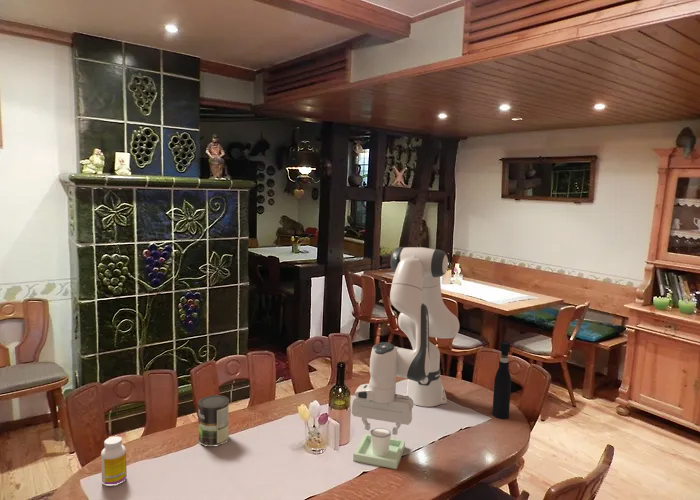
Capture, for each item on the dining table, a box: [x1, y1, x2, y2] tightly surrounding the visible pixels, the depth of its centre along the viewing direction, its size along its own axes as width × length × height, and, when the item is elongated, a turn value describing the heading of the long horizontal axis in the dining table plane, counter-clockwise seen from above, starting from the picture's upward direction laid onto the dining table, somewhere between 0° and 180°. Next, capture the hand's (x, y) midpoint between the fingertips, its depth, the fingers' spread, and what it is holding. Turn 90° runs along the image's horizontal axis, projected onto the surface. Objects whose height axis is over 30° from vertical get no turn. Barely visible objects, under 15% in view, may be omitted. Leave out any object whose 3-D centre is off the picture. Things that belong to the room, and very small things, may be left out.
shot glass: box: [370, 427, 392, 456], centre depth 163 cm, size 7×7×7 cm
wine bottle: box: [492, 340, 512, 420], centre depth 193 cm, size 6×6×30 cm
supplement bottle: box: [100, 436, 128, 484], centre depth 144 cm, size 7×7×13 cm
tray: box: [353, 433, 406, 470], centre depth 164 cm, size 14×14×2 cm
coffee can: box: [197, 394, 230, 446], centre depth 169 cm, size 10×10×14 cm
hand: (381, 431), depth 164 cm, fingers open, 8 cm apart
